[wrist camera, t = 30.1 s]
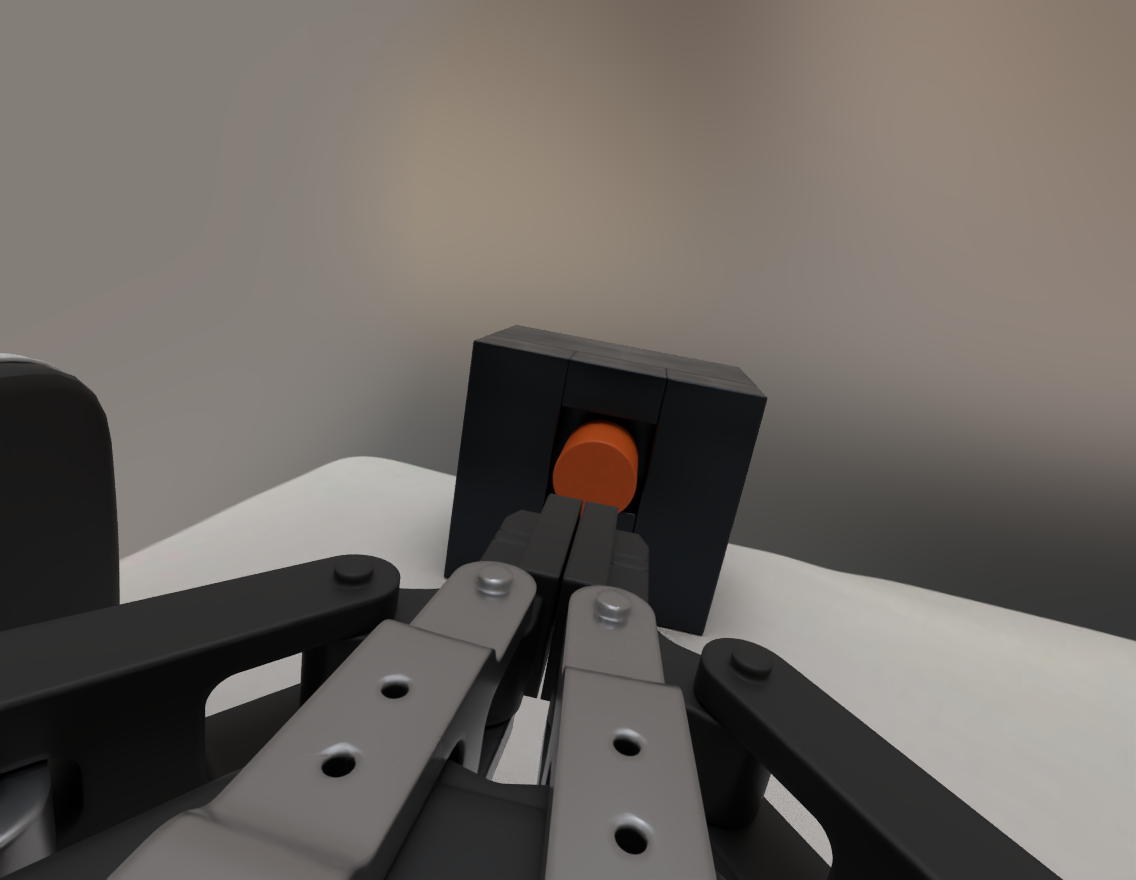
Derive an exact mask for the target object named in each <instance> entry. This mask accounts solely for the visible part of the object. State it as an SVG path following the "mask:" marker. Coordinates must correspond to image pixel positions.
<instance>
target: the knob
mask: <svg viewBox="0 0 1136 880" xmlns="http://www.w3.org/2000/svg"><path fill="white" fill-rule="evenodd" d="M637 470H638V448H637V445H636V442H635V440H634V438H633V437H632V435H631V434H630V433H629V432H628V431H627V430H626V429H625V428H624V427H623V426H621V425H619V424H618V423H615V422H612V421H609V420H592V421H589V422H586V423H584V424H582V425H580V426H579V427H578V428H576V429H575V430H574V431H573V432H572V434H571V435H570V437H569V438H568V440H567V442H566V444H565V446H564V448H563V450H562V452H561V454H560V456H559V458H558V460H557V462H556V465H555V467H554V471H553V486H554V490H555V493H556V495H561V496H566V497H570V498H575V499H580V500H583V505H582V511H581V515H582V512H583V508H584V505H585V502H586V501H590V502H595V503H600V504H604V505H609V506H614V507H619V509H618V513H620V512H621V511H623V510H624V509H625V508H626V507H627V506H628V505H629V503H630V502H631V500H632V498H633V496H634V494H635V490H636V485H637ZM580 517H581V516H580Z"/></svg>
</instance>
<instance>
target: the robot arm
mask: <svg viewBox="0 0 1136 880" xmlns="http://www.w3.org/2000/svg"><path fill="white" fill-rule="evenodd" d="M582 505H583V500H580V499H575V498H570V497H566V496H561V495H556V494H551V493H550V495H549V497H548V499H547V501H546V503H545V505H544V507H543V509H542V512H541V514H539V513H535V512H530V511H525V510H520V511H518V512H516V513H514V514H512V515H509V516H507V517H506V518H505V520H504V522H503V523H502V525H501V527H500V529H499V530H498V532H497V533H496V535H495V537H494V539H493V540H492V542H491V543H490V545H489V546H488V548H487V550H486V551H485V553H484V555H483V556H482V558H481V560H480V561H479V562H473V563H469V564H466V565H463V566H461V567H460V568H458V569H457V570H456V571H455V572H454V573H453V574H452V575H451V576H450V577H449V579H448V580H447V581H446V582H445V583H444V584H443V586H442V587H441V588H440V589H401V588H399V586H400V573H399V571H398V569H397V568H396V567H395V566H394V565H392V564H391V563H390V562H388V561H386V560H383V559H381V558H377V557H373V556H368V555H357V554H356V555H340V556H335V557H330V558H326V559H321V560H317V561H312V562H308V563H303V564H299V565H294V566H290V567H286V568H281V569H277V570H272V571H268V572H263V573H259V574H254V575H250V576H245V577H241V578H237V579H232V580H228V581H223V582H219V583H214V584H210V585H205V586H201V587H196V588H192V589H188V590H183V591H179V592H174V593H170V594H165V595H161V596H156V597H152V598H147V599H143V600H139V601H134V602H130V603H125V604H121V605H116V606H112V607H107V608H103V609H98V610H94V611H90V612H85V613H81V614H76V615H72V616H67V617H63V618H58V619H54V620H49V621H45V622H41V623H36V624H32V625H27V626H23V627H18V628H14V629H9V630H5V631H0V880H1063V879H1061V878H1060V877H1059V876H1057V875H1056V874H1055V873H1054V872H1052V871H1051V870H1050V869H1049V868H1047V867H1046V866H1045V865H1043V864H1042V863H1041V862H1040V861H1038V860H1037V859H1036V858H1035V857H1033V856H1032V855H1031V854H1030V853H1028V852H1027V851H1026V850H1024V849H1023V848H1022V847H1021V846H1019V845H1018V844H1017V843H1016V842H1014V841H1013V840H1012V839H1010V838H1009V837H1008V836H1007V835H1005V834H1004V833H1003V832H1002V831H1000V830H999V829H998V828H997V827H995V826H994V825H993V824H991V823H990V822H989V821H988V820H986V819H985V818H984V817H983V816H981V815H980V814H979V813H977V812H976V811H975V810H974V809H972V808H971V807H970V806H969V805H967V804H966V803H965V802H964V801H962V800H961V799H960V798H958V797H957V796H956V795H955V794H953V793H952V792H951V791H950V790H948V789H947V788H946V787H944V786H943V785H942V784H941V783H939V782H938V781H937V780H936V779H934V778H933V777H932V776H931V775H929V774H928V773H927V772H925V771H924V770H923V769H922V768H920V767H919V766H918V765H917V764H915V763H914V762H913V761H911V760H910V759H909V758H908V757H906V756H905V755H904V754H903V753H901V752H900V751H899V750H898V749H896V748H895V747H894V746H892V745H891V744H890V743H889V742H887V741H886V740H885V739H884V738H882V737H881V736H880V735H878V734H877V733H876V732H875V731H873V730H872V729H871V728H870V727H868V726H867V725H866V724H865V723H863V722H862V721H861V720H859V719H858V718H857V717H856V716H854V715H853V714H852V713H851V712H849V711H848V710H847V709H845V708H844V707H843V706H842V705H840V704H839V703H838V702H837V701H835V700H834V699H833V698H831V697H830V696H829V695H828V694H826V693H825V692H824V691H823V690H821V689H820V688H819V687H818V686H816V685H815V684H814V683H812V682H811V681H810V680H809V679H807V678H806V677H805V676H804V675H802V674H801V673H800V672H798V671H797V670H796V669H795V668H793V667H792V666H791V665H790V664H788V663H787V662H786V661H785V660H783V659H782V658H781V657H779V656H778V655H776V654H775V653H773V652H772V651H770V650H768V649H766V648H764V647H762V646H760V645H757V644H755V643H752V642H749V641H745V640H741V639H734V638H721V639H715V640H713V641H710V642H709V643H707V644H706V645H705V646H704V648H703V650H702V654H701V655H699V654H697V653H695V652H692V651H690V650H688V649H686V648H683V647H681V646H679V645H677V644H675V643H674V642H672V641H670V640H669V639H667V638H666V637H665V636H663V635H662V634H661V633H660V632H659V631H658V630H657V626H656V619H655V614H654V612H653V610H652V608H651V607H650V606H649V605H648V581H649V573H648V571H649V562H648V561H649V547H648V546H647V544H646V543H645V542H644V540H643V539H642V538H641V536H640V535H639V534H634V533H630V532H625V531H620V530H616V524H617V516H618V509H619V507H614V506H609V505H604V504H600V503H595V502H590V501H586V502H585V505H584V508H583V512H582V515H581V511H582ZM580 516H581V519H580ZM579 521H580V522H579ZM301 652H302V666H301V683H300V684H297V685H294V686H291V687H289V688H286V689H283V690H280V691H277V692H275V693H272V694H269V695H266V696H264V697H261V698H258V699H255V700H253V701H250V702H247V703H244V704H241V705H239V706H236V707H233V708H230V709H228V710H225V711H222V712H219V713H217V714H214V715H211V716H208V717H205V704H206V701H207V698H208V697H209V695H210V693H211V692H212V690H213V689H214V688H215V687H216V686H217V685H218V684H219V683H221V682H222V681H223V680H225V679H226V678H228V677H230V676H232V675H234V674H237V673H240V672H243V671H246V670H249V669H252V668H255V667H258V666H261V665H264V664H267V663H270V662H273V661H276V660H280V659H283V658H286V657H289V656H292V655H295V654H298V653H301ZM548 655H549V657H548ZM547 659H548V662H547ZM546 662H547V667H546V673H545V678H544V683H543V689H542V694H541V699H542V700H547V701H550V705H549V710H548V716H547V721H546V726H545V731H544V736H543V742H542V749H541V757H540V765H539V772H538V780H537V785H525V784H501V783H497V782H493V781H491V780H492V778H493V775H494V773H495V770H496V768H497V766H498V763H499V761H500V758H501V756H502V754H503V751H504V749H505V746H506V744H507V742H508V739H509V737H510V734H511V732H512V728H513V722H514V716H515V713H516V712H517V711H518V709H519V707H520V704H521V701H522V698H523V695H525V696H529V697H533V698H537V695H538V692H539V688H540V684H541V681H542V677H543V673H544V670H545V666H546ZM771 774H772V775H773V776H774V777H775V778H776V779H777V780H778V781H779V782H780V783H781V784H782V785H783V786H784V787H785V788H786V789H787V790H788V791H789V792H790V793H791V794H792V795H793V796H794V797H795V798H796V799H797V800H798V801H799V802H800V803H801V804H802V805H803V806H804V807H805V808H806V809H807V810H808V811H809V812H810V813H811V814H812V815H813V816H814V817H815V818H816V819H817V820H818V822H819V823H820V824H821V826H822V827H823V829H824V831H825V832H826V835H827V837H828V839H829V842H830V845H831V849H832V855H833V862H832V867H830V866H829V865H828V864H827V863H826V862H825V861H824V860H823V859H822V858H821V857H820V855H819V854H818V853H817V852H816V851H815V850H814V849H813V848H812V847H811V846H810V845H809V844H808V843H807V842H806V841H805V840H804V839H803V838H802V836H801V835H800V834H799V833H798V832H797V831H796V830H795V829H794V828H793V827H792V826H791V825H790V824H789V823H788V822H787V821H786V820H785V819H784V817H783V816H782V815H781V814H780V813H779V812H778V811H777V810H776V809H775V808H774V807H773V806H772V805H771V804H770V803H769V802H768V801H767V800H766V798H765V797H764V793H765V790H766V787H767V784H768V781H769V778H770V775H771Z"/></svg>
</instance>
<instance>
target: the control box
mask: <svg viewBox="0 0 1136 880" xmlns="http://www.w3.org/2000/svg"><path fill="white" fill-rule="evenodd" d="M766 402H767V397H766V396H765V395H764V394H763V393H762V392H761V391H760V390H759V388H758V387H757V386H756V385H755V384H754V383H753V381H751V379H750V378H748V376H747V375H746V374H745V373H744V372H743V371H742V370H741V369H740V368H739V367H734V366H729V365H724V364H719V363H714V362H708V361H703V360H698V359H693V358H687V357H682V356H677V355H671V354H666V353H661V352H655V351H650V350H645V349H640V348H635V347H629V346H624V345H619V344H614V343H608V342H603V341H598V340H592V339H587V338H582V337H577V336H571V335H566V334H561V333H556V332H550V331H545V330H539V329H535V328H529V327H524V326H519V325H515V326H512V327H509V328H507V329H504V330H501V331H499V332H496V333H493V334H490V335H488V336H485V337H483V338H480V339H477V340H475V341H474V343H473V351H472V359H471V367H470V375H469V382H468V390H467V398H466V406H465V414H464V421H463V430H462V438H461V445H460V453H459V461H458V469H457V477H456V485H455V492H454V500H453V508H452V516H451V524H450V532H449V540H448V548H447V556H446V563H445V571H444V577H446V578H449V577H450V576H451V575H452V574H453V573H454V572H455V571H456V570H457V569H458V568H460V567H461V566H463V565H466V564H469V563H473V562H479V561H480V560H481V558H482V556H483V555H484V553H485V551H486V550H487V548H488V546H489V545H490V543H491V542H492V540H493V539H494V537H495V535H496V533H497V532H498V530H499V529H500V527H501V525H502V523H503V522H504V520H505V518H506V517H507V516H509V515H512V514H514V513H516V512H518V511H520V510H525V511H530V512H535V513H539V514H541V512H542V509H543V507H544V505H545V503H546V501H547V499H548V497H549V495H550V493H551V494H556V493H555V490H554V486H553V471H554V467H555V465H556V462H557V460H558V458H559V456H560V454H561V452H562V450H563V448H564V446H565V444H566V442H567V440H568V438H569V437H570V435H571V434H572V432H573V431H574V430H575V429H576V428H578V427H579V426H580V425H582V424H584V423H586V422H589V421H592V420H609V421H612V422H615V423H618V424H619V425H621V426H623V427H624V428H625V429H626V430H627V431H628V432H629V433H630V434H631V435H632V437H633V438H634V440H635V442H636V445H637V448H638V470H637V485H636V490H635V494H634V496H633V498H632V500H631V502H630V503H629V505H628V506H627V507H626V508H625V509H624V510H623V511H621V512H620V513H618V516H617V524H616V530H620V531H625V532H630V533H634V534H639V535H640V536H641V538H642V539H643V540H644V542H645V543H646V544H647V546H648V547H649V561H648V562H649V571H648V573H649V581H648V605H649V606H650V607H651V608H652V610H653V612H654V614H655V619H656V625H660V626H664V627H668V628H673V629H677V630H682V631H686V632H691V633H695V634H699V635H702V634H703V633H704V629H705V625H706V622H707V618H708V614H709V611H710V607H711V603H712V600H713V596H714V592H715V589H716V585H717V581H718V578H719V574H720V570H721V567H722V563H723V559H724V556H725V552H726V549H727V545H728V541H729V538H730V534H731V530H732V527H733V523H734V519H735V516H736V512H737V508H738V505H739V501H740V497H741V493H742V490H743V486H744V483H745V479H746V475H747V472H748V468H749V464H750V461H751V457H752V453H753V450H754V446H755V442H756V439H757V435H758V431H759V428H760V424H761V421H762V417H763V413H764V409H765V406H766ZM580 519H581V517H580ZM579 522H580V521H579Z"/></svg>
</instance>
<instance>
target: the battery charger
mask: <svg viewBox="0 0 1136 880" xmlns="http://www.w3.org/2000/svg"><path fill="white" fill-rule="evenodd" d="M116 605H120V588H119V544H118V522H117V506H116V491H115V479H114V466H113V455H112V443H111V438H110V432H109V427H108V422H107V417H106V414H105V412H104V410H103V409H102V407H101V405H100V403H99V401H98V399H97V397H96V395H95V394H94V393H93V392H92V391H91V390H90V389H89V388H88V387H87V386H85V385H84V384H83V383H82V382H81V381H80V380H78V379H77V378H76V377H75V376H72V375H70V374H67V373H66V372H64V371H62V370H61V369H60V368H58V367H56V366H54V365H52V364H50V363H48V362H45V361H42V360H37V359H33V358H29V357H24V356H19V355H15V354H4V353H0V631H5V630H9V629H14V628H18V627H23V626H27V625H32V624H36V623H41V622H45V621H49V620H54V619H58V618H63V617H67V616H72V615H76V614H81V613H85V612H90V611H94V610H98V609H103V608H107V607H112V606H116Z"/></svg>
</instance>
